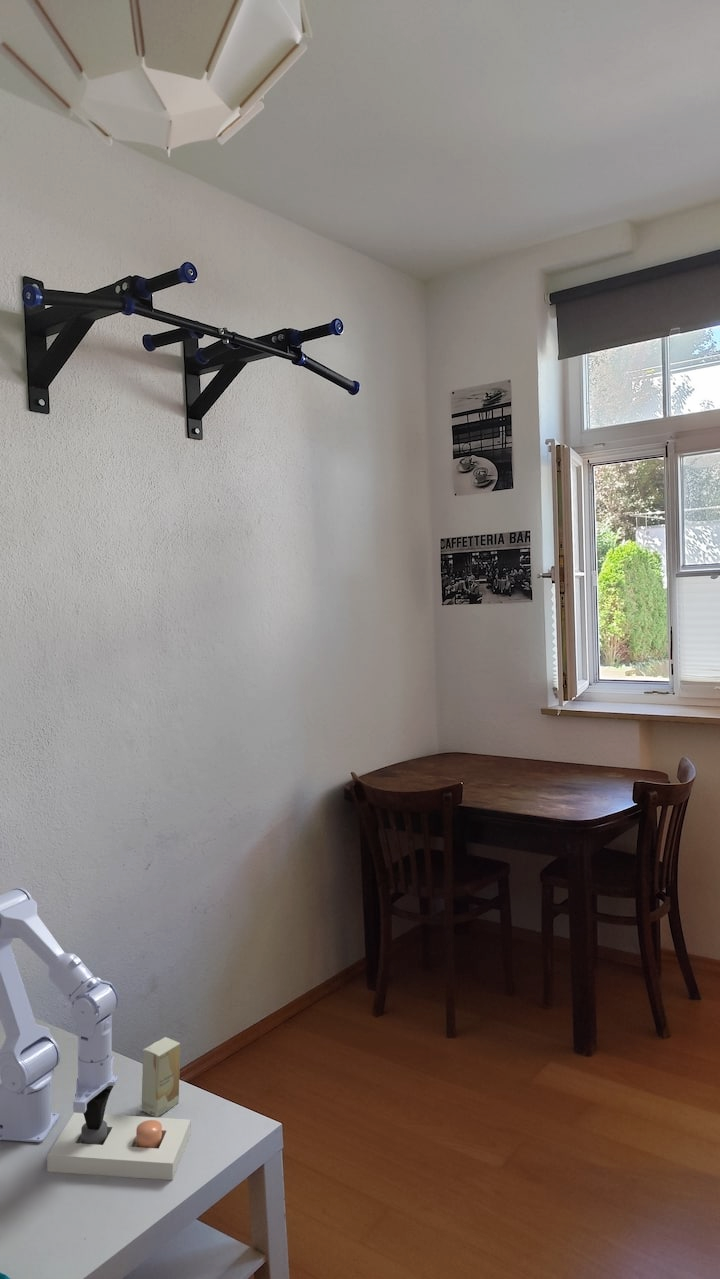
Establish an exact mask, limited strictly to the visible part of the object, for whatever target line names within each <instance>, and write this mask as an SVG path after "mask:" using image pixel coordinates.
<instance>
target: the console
mask: <svg viewBox="0 0 720 1279" xmlns="http://www.w3.org/2000/svg"><path fill="white" fill-rule="evenodd" d="M103 1120H104V1121H105V1122H106V1123H107V1138H106V1140H105V1142H104V1144H103V1145H96V1144H81V1129H82V1126H83V1125H84V1124H85V1123H86V1121H85V1117H84V1114H83V1113H75V1112H73V1113H72V1116H71V1117H70V1119H69V1121H68V1122H67V1123H66V1125H65V1127H64V1129H63V1130H62V1132H61V1133H60V1134H59V1136H58V1138H57V1139H56V1141H55V1143H54V1144H53V1145H52V1147H51V1149H50V1150H49V1152H48V1153H47V1155H46V1156H47V1159H46V1161H47V1162H46V1163H47V1165H46V1166H47V1169H46V1170H47V1172H48V1173H61V1174H62V1173H64V1174H77V1175H78V1174H79V1175H91V1176H108V1177H121V1178H123V1177H124V1178H136V1179H137V1178H139V1179H151V1180H153V1179H154V1180H163V1181H164V1180H165V1181H166V1180H167V1181H173V1180H174V1177H175V1175H176V1173H177V1170H178V1167H179V1165H180V1162H181V1161H182V1157H183V1156H184V1152H185V1150H186V1147H187V1145H188V1142H189V1141H190V1138H191V1133H192V1132H191V1131H192V1127H191V1126H192V1120H191V1119H187V1118H186V1119H185V1118H183V1119H182V1118H172V1117H171V1118H168V1117H155V1116H138V1115H122V1114H121V1115H120V1114H106V1113H104V1117H103ZM147 1120H156V1121H158V1122H160V1123H161V1125H162V1142H161V1145H160V1147H159V1148H158V1149H157V1148H142V1147H136V1129H137V1126H138V1125H139V1124H140V1123H142V1122H144V1121H147Z"/></svg>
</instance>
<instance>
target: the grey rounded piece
mask: <svg viewBox="0 0 720 1279" xmlns="http://www.w3.org/2000/svg"><path fill="white" fill-rule="evenodd" d="M106 1138H107V1123H106V1122H105V1121H104V1120H103V1121H102V1125H101V1127H100V1128H99V1130H93V1129H88V1128H87V1125H86V1123H85V1124H84V1125H83V1126H82V1129H81V1144H96V1145H103V1144H104V1142H105V1140H106Z"/></svg>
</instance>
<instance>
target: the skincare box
mask: <svg viewBox="0 0 720 1279" xmlns="http://www.w3.org/2000/svg"><path fill="white" fill-rule="evenodd" d="M180 1062H181V1043H180V1042H178V1041H176V1040H174V1039H171V1038H169V1037H167V1036H164V1037H163V1038H161V1039H159V1040H157V1041H155V1042H153V1043H152V1044H150V1045H148V1046H147V1047H145V1048H143V1050H142V1078H141V1080H142V1081H141V1111H143V1112H145V1113H147V1114H148V1115H151V1116H152V1117H157V1118H159V1116H161V1115H163V1114H164V1113H166V1112H168V1110H170V1109H172V1108H173V1107H175V1106H176V1105H177V1104H179V1102H180V1101H179V1100H180V1072H181V1071H180V1065H181V1064H180Z"/></svg>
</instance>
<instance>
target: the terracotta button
mask: <svg viewBox="0 0 720 1279" xmlns="http://www.w3.org/2000/svg"><path fill="white" fill-rule="evenodd" d="M161 1142H162V1125H161V1123H160V1122H158V1121H156V1120H147V1121H144V1122H142V1123H140V1124H139V1125H138V1126H137V1129H136V1147H142V1148H157V1149H159V1147H160V1145H161Z"/></svg>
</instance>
